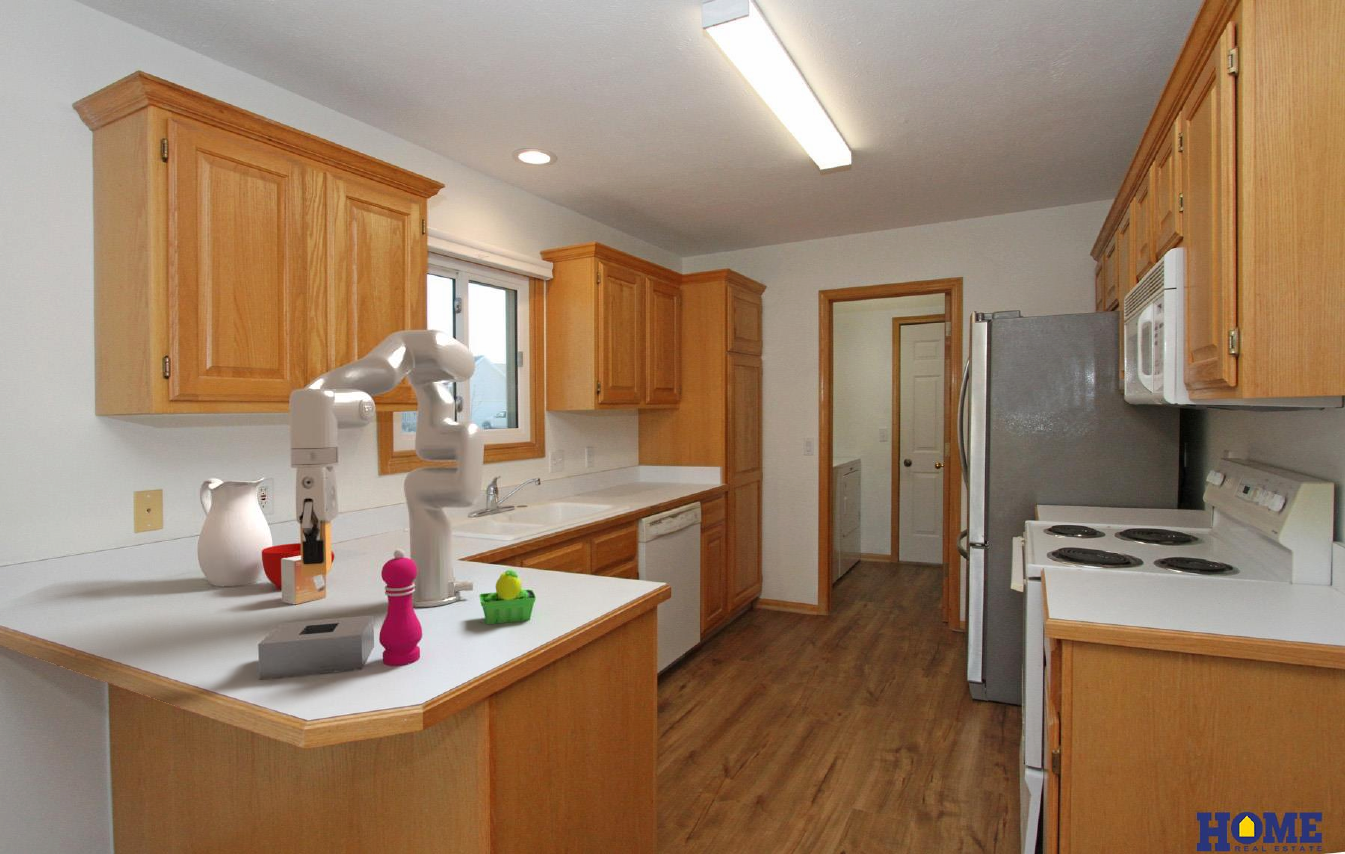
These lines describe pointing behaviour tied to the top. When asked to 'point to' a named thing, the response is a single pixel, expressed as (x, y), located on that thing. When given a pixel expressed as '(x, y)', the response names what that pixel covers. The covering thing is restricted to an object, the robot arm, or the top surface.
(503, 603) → the fruit basket
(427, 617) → the top surface
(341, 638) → the socket block
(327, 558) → the wedge peg
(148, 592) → the top surface
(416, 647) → the pepper mill
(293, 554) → the ceramic cup
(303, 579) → the small box
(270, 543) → the pitcher
